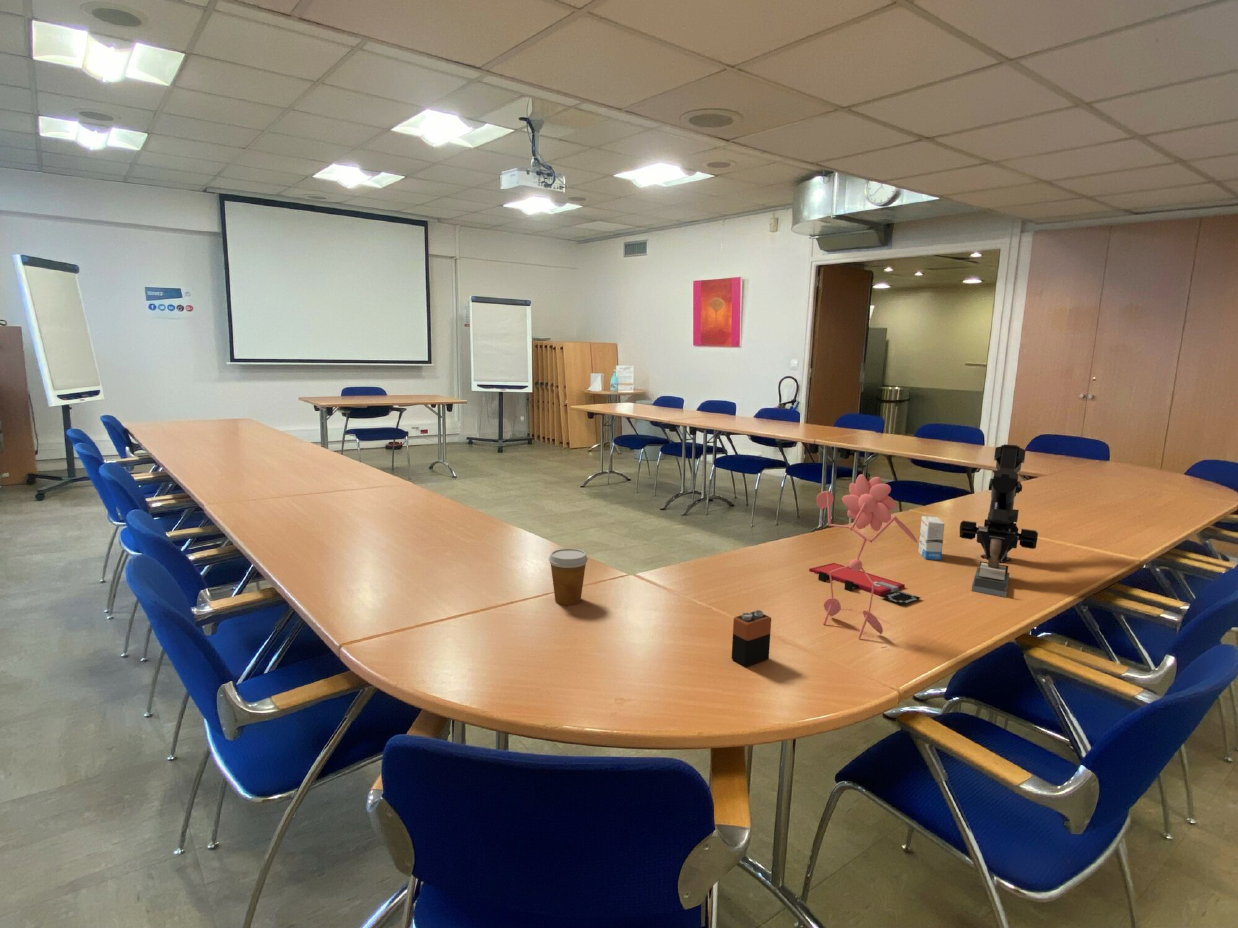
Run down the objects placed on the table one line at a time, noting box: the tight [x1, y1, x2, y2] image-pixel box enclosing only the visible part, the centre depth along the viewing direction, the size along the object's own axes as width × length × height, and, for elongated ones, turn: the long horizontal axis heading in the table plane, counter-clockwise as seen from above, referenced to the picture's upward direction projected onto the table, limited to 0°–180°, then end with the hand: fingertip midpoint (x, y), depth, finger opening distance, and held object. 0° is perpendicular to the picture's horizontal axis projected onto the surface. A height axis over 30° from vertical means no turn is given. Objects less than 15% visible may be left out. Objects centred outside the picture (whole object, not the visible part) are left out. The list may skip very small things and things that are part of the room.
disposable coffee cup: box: [548, 547, 589, 606], centre depth 160 cm, size 10×10×12 cm
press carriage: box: [979, 539, 1006, 580], centre depth 180 cm, size 5×6×10 cm
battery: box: [731, 609, 772, 668], centre depth 131 cm, size 4×7×10 cm, turn 125°
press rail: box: [971, 561, 1010, 598], centre depth 178 cm, size 18×8×4 cm, turn 148°
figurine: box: [815, 473, 918, 649], centre depth 147 cm, size 15×26×35 cm, turn 36°
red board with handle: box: [808, 562, 922, 605], centre depth 176 cm, size 30×3×15 cm
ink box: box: [918, 515, 945, 561], centre depth 202 cm, size 9×5×12 cm, turn 168°
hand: (993, 560), depth 178 cm, fingers closed on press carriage, 3 cm apart
